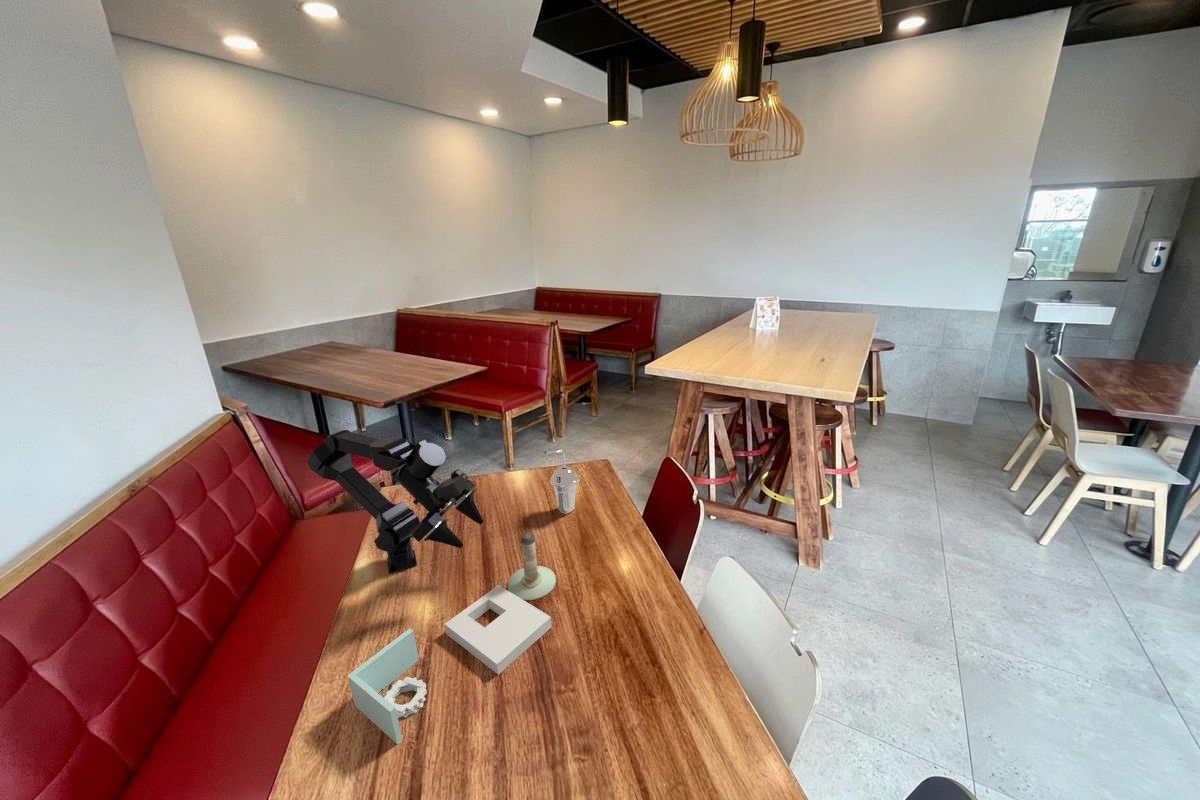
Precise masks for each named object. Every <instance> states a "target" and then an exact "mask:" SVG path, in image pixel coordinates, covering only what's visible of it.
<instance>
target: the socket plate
mask: <svg viewBox="0 0 1200 800" xmlns="http://www.w3.org/2000/svg"><path fill="white" fill-rule="evenodd" d="M489 610H491V611H493V612H494V613H496V614H497V615H499V616H497V617H496V618H495V619H494V620H492V621H491V622H490V623H489V624H487V625H486V626H485V627H484V626H483V625H482V624H481V623H479V622H478V621H476V620H477V619H479V618H480V617H481V616H482V615H483V614H486V613H487V611H489ZM552 627H553V626H552V616H550V615H549V614H548V613H545V612H544V611H542V610H540V609H539V608H537V607H536V606H534V605H532V604H530V603H529V602H527V600H522V599H521V598H519V597H518V596H516V595H514V594H513V593H511V592H509V590H508V589H506V588H504V587H503V586H501V585H500V584H497V586H495V587H494V588H493V589H491V590H490V591H488V592H487V593H486V594H485V595H483V596H481V597H480V598H479V599H477V600H476V601H475V602H473V603H472V604H470V605H468V606H467V607H466V608H464V609H463V610H461V612H459V613H458V614H457V615H455V616H453V617H452V618H451V619H449V620H448V621H447V622H445V623H444V628H445V633H446V635H447V636H448V637H450V638H451V639H452V640H453V641H455V642H456V643H457V644H459V645H460V646H461V647H463V649H465V650H466V651H467V652H469V653H470V654H471V655H472V656H474V657H475V658H476V659H478V660H479V661H480V662H482V663H483V664H484V665H485V666H486V667H488V668H489V669H491V670H492V671H493V673H495V674H497V675H498V676H499V675H500V674H501V673H502V672H504V671H505V669H507V668H508V667H509V666H510V665H511V664H512V663H513V662H514V661H516V660H517V659H518V658H519V657H520V656H521V655H522V654H523V653H525V652H526V651H527V650H528V649H529V648H530V647H531V646H532V645H533V644H534V643H536V642H537V641H538V640H539V639H540V638H541V637H542V636H543V635H545V633H546V632H548V631H549V630H550V629H551V628H552Z"/></svg>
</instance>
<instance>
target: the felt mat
mask: <svg viewBox="0 0 1200 800" xmlns="http://www.w3.org/2000/svg"><path fill="white" fill-rule="evenodd" d="M537 571H538V573H540V575H541V583H540V584H539V585H538V586H536V587H534V588H527V587H525V586H523V584H522V576H523V575H524V567H521V568H520V569H518V570H516V571H515V572H513V574H511V576H510V577H509V579H508V581H507V590H508V591H509V592H511V593H513V594H514V595H516V596H518V597H519V598H521V599H522V600H524V601H534V600H538V599H541V598H543V597H545V596H547V595H550V594H551V592H552V591H553V590H554V588H555V586H556V583H557V578H556V575H555V573H554V571H553V570H552V569H550V568H549V567H545V566H541V565H537Z"/></svg>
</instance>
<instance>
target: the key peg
mask: <svg viewBox="0 0 1200 800" xmlns="http://www.w3.org/2000/svg"><path fill="white" fill-rule="evenodd" d="M520 544H521V554H522V562H523V565H522V566H523V568H524V575H523V576H522V584H523V586H525V587H527V588H534V587H536V586H538V585H539V584H540V583H541V575H540V573H538V571H537V566H538V562H537V552H536V549H537V548H536V536H535V534H534V533H532V532H525V533H523V534H521V536H520Z"/></svg>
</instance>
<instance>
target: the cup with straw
mask: <svg viewBox="0 0 1200 800" xmlns="http://www.w3.org/2000/svg"><path fill="white" fill-rule="evenodd" d="M544 454H561V456H562V457H561V458H562V460H561V461H562V466H559V467H558V468H556V469H555V470H554V472H553V474H552V475H551V476H550V478H549V483H550V484H551V486H553V487H552V488H553V490H554V493H555V498H556V504H557V508H558V511H559V510H560V511H561V512H564V513H568V512H571V511H572V510H573V509H574V510H575V503H576V492H577V491H576V490H577V486H578V483H580V476H579V475H578V473H576V470H574V469H573V467H571V466H567V465H566V455H565V454H566V453H565V451H564V450H562V449H561V450H544Z"/></svg>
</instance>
